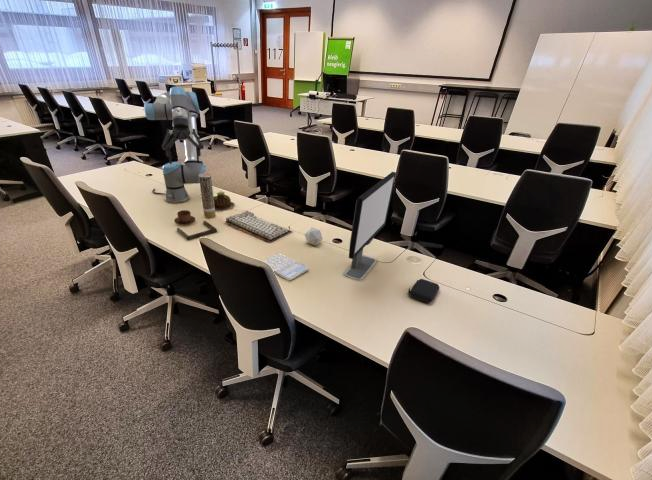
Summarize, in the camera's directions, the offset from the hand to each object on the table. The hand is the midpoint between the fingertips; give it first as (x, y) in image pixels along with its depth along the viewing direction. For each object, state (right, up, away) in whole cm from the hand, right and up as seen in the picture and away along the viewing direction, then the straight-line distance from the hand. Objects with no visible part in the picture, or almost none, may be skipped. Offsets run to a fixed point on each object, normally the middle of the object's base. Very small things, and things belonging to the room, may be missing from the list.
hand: (184, 162), depth 166 cm
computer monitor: (+87, -54, -8) cm, 103 cm away
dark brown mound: (+9, -9, +49) cm, 51 cm away
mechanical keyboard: (+34, -28, +25) cm, 50 cm away
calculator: (+50, -54, -10) cm, 75 cm away
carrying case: (+110, -66, -24) cm, 131 cm away
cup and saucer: (-8, -24, +27) cm, 38 cm away
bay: (+1, -31, +19) cm, 36 cm away
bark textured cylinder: (+4, -19, +36) cm, 41 cm away
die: (+66, -39, +10) cm, 77 cm away
